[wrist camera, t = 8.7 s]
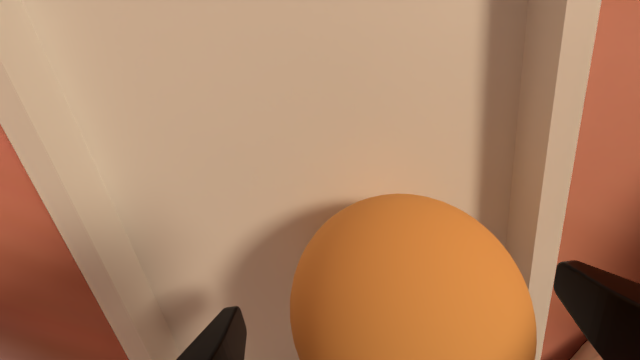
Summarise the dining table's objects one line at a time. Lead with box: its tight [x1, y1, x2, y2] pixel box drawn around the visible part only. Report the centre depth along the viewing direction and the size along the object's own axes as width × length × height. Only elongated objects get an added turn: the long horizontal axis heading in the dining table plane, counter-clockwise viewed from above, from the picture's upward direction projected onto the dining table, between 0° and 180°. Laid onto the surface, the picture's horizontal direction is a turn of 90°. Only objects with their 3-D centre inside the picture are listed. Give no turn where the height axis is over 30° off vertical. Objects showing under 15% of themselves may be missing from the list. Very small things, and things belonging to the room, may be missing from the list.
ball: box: [290, 194, 537, 360], centre depth 8 cm, size 6×6×6 cm
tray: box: [0, 0, 601, 360], centre depth 10 cm, size 20×15×2 cm
